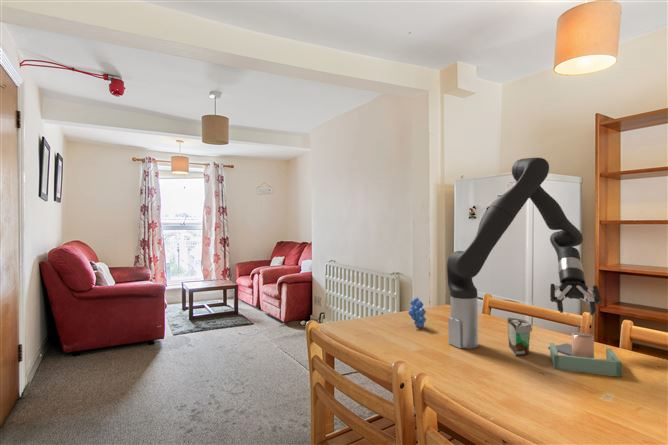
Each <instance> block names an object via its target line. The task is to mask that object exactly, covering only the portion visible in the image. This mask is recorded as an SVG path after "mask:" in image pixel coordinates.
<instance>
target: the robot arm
mask: <svg viewBox="0 0 668 445" xmlns="http://www.w3.org/2000/svg"><path fill="white" fill-rule="evenodd" d="M549 164H550V163H549V162H548V161H547V160H546V159H545V158H542V157H527V158H520V159H517V160H516V161H515V162H514V163H513V165H512V166H511V174H512V177H513V179H514V181H515V182H516V183H515V184H514V185H513V186H512V187H511V188H510V189H508V190H507V191H505V192H504V193H503V194H501V195H500V196H499V197H497V198H496V199H495V200H494V201H492V203H491V204H490V205H489V206H488V208H487V210H486V211H485V212H484V213H483V215H482V217H481V219H480V220H479V224H478V229H477V233H476V234H475V237H474V239H473V241H472V242H470V244H469V246H468V247H467V248H466V249H465V250H456V251H453V252H452V253H451V254H450V255H449V256H448V258H447V261H446V262H447V263H446V272H447V285H448V289H449V298H450V300H449V301H450V302H449V303H450V307H449V310H450V316H448V318H447V319H448V320H447V321H448V322H447V323H448V325H447V326H448V329H447V330H448V344H449V345H451V346H454V347H455V348H458V349H475V348H478V347H479V316H478V314H479V313H478V312H479V311H478V309H479V308H478V304H479V303H478V302H479V301H478V290H477V287H476V286H475V285H474V282H473V278H474V277H476V276H477V275H478V274H479V273H480V271H481V270H482V268H483V266H484V265H485V262H487V260H488V257H489V255H490V254H491V253H492V250H493V248H495V246H496V245H497V243H498V242H499V240H501V238H502V236H503V235H504V233H505V232H506V231H507V229H508V228H509V227H510V226H511V224H512V223H513V221H514V220H515V218H516V216H517V215H518V213H519V212H520V211H521V209H522V208H523V207H524V205H525V204H526V203H527V201H528V200H531V202H532V203H533V204H534V205H535V207H536V209H537V210H538V212H539V213H540V214H539V215H541V217H542V219H543V221H544V223H545V224H546V227H547V228H548V229H549V230H552V231H555V232H553V233H552V234H551V235H550V238H549V240H550V243H551V245H552V248H554V250H555V253H556V256H557V262H558V265H557V266H558V267H557V268H558V270H557V271H558V272H557V273H558V276H559V277H558V278H559V285H555V284H554V283H550V288H549V290H550V292H549V294H550V295H549V296H550V302H551V303H556V308H557V311H558V312H559V313H561V314H563V313H564V307H563V306H564V304H563V302H564V301H565V300H566V299H567V298H568V299H576V300H580V299H581V300H582V301H583V302H584V303H587V304H588V308H589V314H590V316H594V314H596V310H597V308H596V305H597V306H599V305H600V304H601V300H602V297H601V295H600V292H599V288H598V286H597V285H593V286H592V287H591V286H587V284H586V279H585V272H584V268H583V267H584V266H583V265H582V261H581V260H582V259H581V255H580V251H579V249H577V248H576V247H577V246H580V245H582V243H583V242H584V237H583V234H582V233H581V230H579V229H578V228H577V227H576V226H575V225H574V224H573V223H572V221H571V222H570V220H569V219H568V217H567V216H566V214H565V212H564V210H563V209H562V207H561V205H560V204H559V202H558V201H557V200H556V199H554V197H553V196H551V195H550V194H549V193H548V192H547V191H545V189H544V188H543V187H542V186H541V185H542V184H543V183H544V181H545V180H546V178H547V177H548V175H549V172H550V165H549ZM558 290H559V292H560V294H559V295H558V296H556V292H558ZM588 292H590V294H591V295H593V297H592V296H591V295H590V294H589V293H588Z"/></svg>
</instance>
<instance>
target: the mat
mask: <svg viewBox="0 0 668 445" xmlns="http://www.w3.org/2000/svg"><path fill="white" fill-rule="evenodd" d="M555 346H556V349H557V352H558V353H560V354H562V355H568V356H572V344H570V343H567V342H566V343H561V344H555ZM547 348H548V350H550V346H548V347H547Z"/></svg>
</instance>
